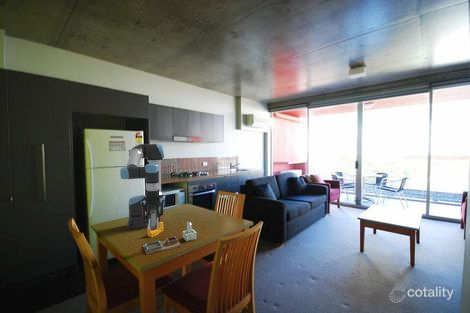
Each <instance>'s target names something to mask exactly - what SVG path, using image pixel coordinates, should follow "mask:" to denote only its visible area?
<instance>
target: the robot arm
mask: <svg viewBox="0 0 470 313" xmlns="http://www.w3.org/2000/svg"><path fill="white" fill-rule="evenodd" d="M128 156H129V157H128V160H127V162H126V166H123V167H121V168H120V174H119V176H120V178H121V179H122V180H137V179H145V190H146V191H145V194H140V195H135V196H132V197H129V199H128V220H127V223H126V229H129V230H137V229H142V228H143V229H144V228H145V227H148V229H149V230H150V216H149V214H150V212H151V211H155V212H157V228H158V225H159V222H161V217H162V216H164V209H165V201H166V199H165V198H166V195H164V193H163V192H162V171H161V170H162V167H161V166H162V164H161V163H162V162H163V160H164V159H165V152H164V146H163V144H161V143H139V144H137V145H136V146H134V147H132V148H131V149H130V151H129V153H128ZM142 159H146V160H147V162H148V164H145V166H140V164H141V160H142Z"/></svg>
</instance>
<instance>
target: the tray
mask: <svg viewBox="0 0 470 313" xmlns="http://www.w3.org/2000/svg"><path fill="white" fill-rule="evenodd" d="M182 238H183V240H184V241H185V242H186V243H187V242H190V241H191V242H192V241H195V240H197V231H195V229H193V228H192V233H190V234H187V229H185V230H183V231H182Z"/></svg>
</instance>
